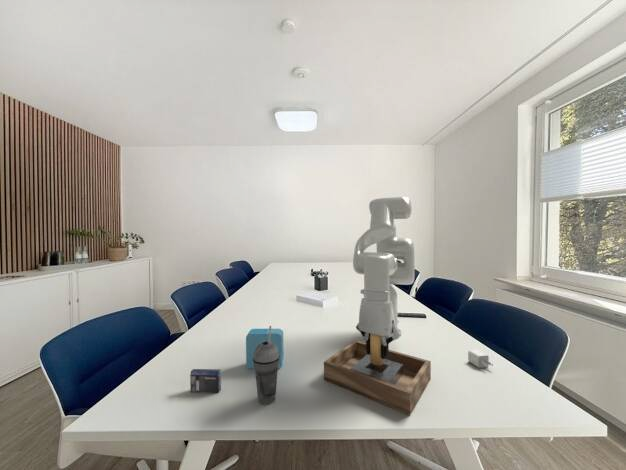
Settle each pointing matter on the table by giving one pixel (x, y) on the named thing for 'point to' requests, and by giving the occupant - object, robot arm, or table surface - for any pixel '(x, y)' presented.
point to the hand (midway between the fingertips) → (377, 354)
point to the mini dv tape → (205, 380)
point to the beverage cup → (266, 370)
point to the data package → (257, 338)
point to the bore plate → (380, 370)
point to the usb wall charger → (478, 358)
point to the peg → (376, 350)
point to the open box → (393, 396)
